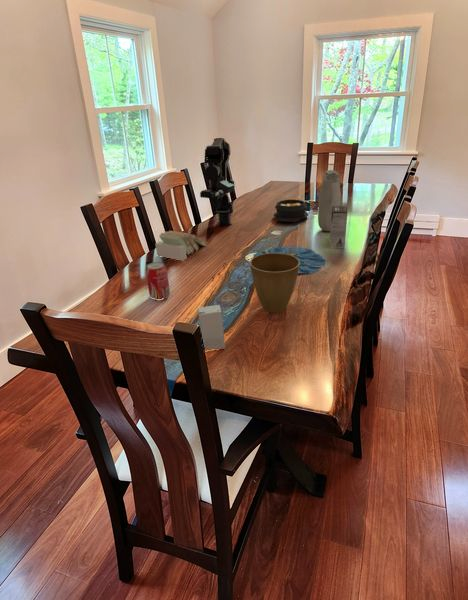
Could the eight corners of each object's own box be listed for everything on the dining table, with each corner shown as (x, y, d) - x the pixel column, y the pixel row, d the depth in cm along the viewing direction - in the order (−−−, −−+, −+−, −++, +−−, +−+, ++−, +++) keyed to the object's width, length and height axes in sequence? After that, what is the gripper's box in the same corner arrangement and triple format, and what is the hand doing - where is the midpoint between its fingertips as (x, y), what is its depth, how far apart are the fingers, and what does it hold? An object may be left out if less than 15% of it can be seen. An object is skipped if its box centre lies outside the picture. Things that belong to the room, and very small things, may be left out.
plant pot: (245, 316, 124) (243, 268, 116) (259, 295, 136) (258, 250, 129) (292, 322, 119) (293, 273, 111) (302, 300, 131) (304, 254, 124)
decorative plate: (329, 254, 171) (331, 242, 168) (320, 282, 145) (321, 269, 143) (263, 246, 179) (263, 235, 177) (242, 272, 154) (242, 259, 152)
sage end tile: (173, 248, 179) (161, 232, 170) (191, 251, 174) (179, 235, 165) (171, 251, 178) (159, 236, 169) (189, 255, 173) (177, 239, 164)
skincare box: (223, 341, 112) (220, 303, 106) (225, 350, 108) (222, 311, 102) (201, 344, 111) (197, 306, 105) (203, 353, 107) (199, 314, 101)
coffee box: (329, 241, 180) (331, 205, 172) (344, 241, 179) (347, 205, 171) (329, 248, 172) (332, 211, 164) (345, 248, 171) (348, 211, 163)
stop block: (161, 254, 176) (159, 241, 173) (186, 259, 169) (185, 245, 166) (157, 256, 174) (155, 243, 171) (182, 261, 167) (180, 248, 164)
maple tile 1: (189, 239, 187) (175, 232, 178) (206, 242, 183) (193, 234, 173) (188, 243, 187) (174, 236, 178) (205, 246, 182) (192, 239, 173)
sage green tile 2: (181, 244, 183) (169, 230, 174) (199, 247, 178) (187, 233, 169) (179, 247, 182) (167, 234, 173) (197, 251, 178) (185, 237, 168)
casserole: (303, 226, 202) (304, 209, 198) (268, 224, 208) (267, 208, 204) (312, 212, 223) (312, 197, 219) (279, 211, 229) (279, 196, 225)
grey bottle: (340, 233, 189) (345, 172, 176) (319, 234, 189) (322, 173, 176) (336, 226, 198) (340, 168, 185) (315, 227, 198) (318, 169, 185)
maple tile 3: (176, 246, 181) (165, 231, 172) (194, 249, 176) (183, 234, 167) (174, 250, 180) (162, 235, 171) (192, 253, 175) (181, 238, 166)
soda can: (151, 293, 141) (145, 262, 136) (171, 292, 142) (166, 260, 136) (149, 302, 135) (143, 270, 130) (169, 301, 135) (165, 268, 130)
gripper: (218, 179, 172) (221, 215, 179) (241, 172, 185) (242, 205, 193) (197, 178, 177) (201, 213, 184) (221, 171, 191) (223, 203, 198)
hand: (217, 208), depth 190 cm, fingers closed
